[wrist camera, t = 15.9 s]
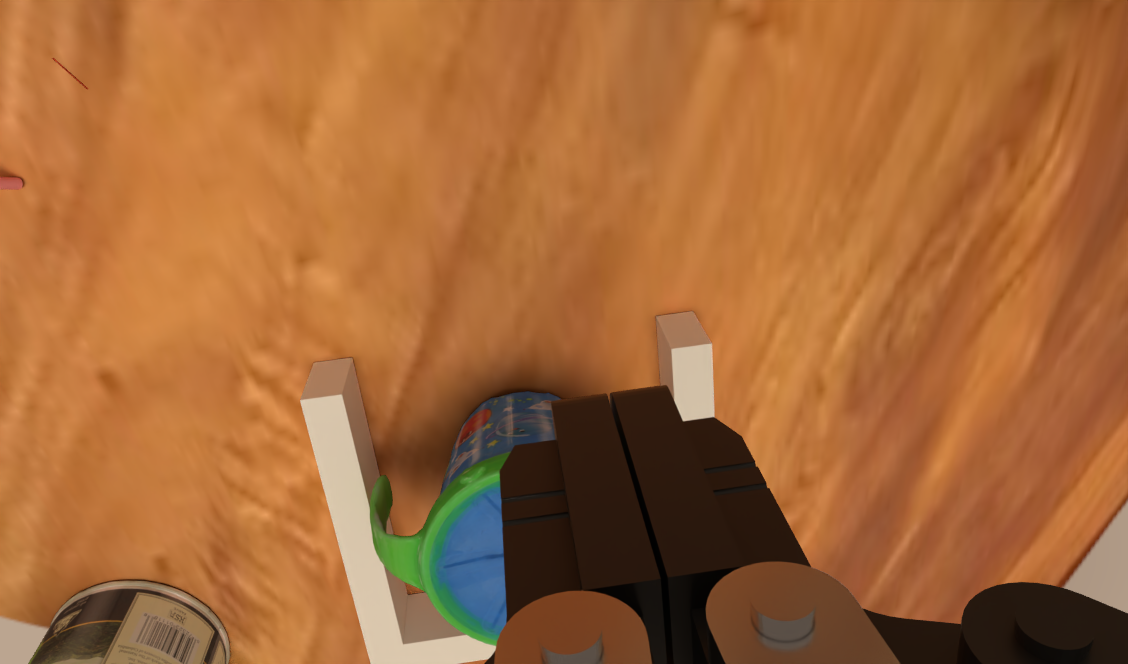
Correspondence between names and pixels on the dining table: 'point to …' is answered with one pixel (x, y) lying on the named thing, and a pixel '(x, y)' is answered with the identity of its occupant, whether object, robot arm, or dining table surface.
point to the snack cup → (466, 518)
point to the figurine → (15, 181)
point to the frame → (349, 472)
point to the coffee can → (133, 628)
